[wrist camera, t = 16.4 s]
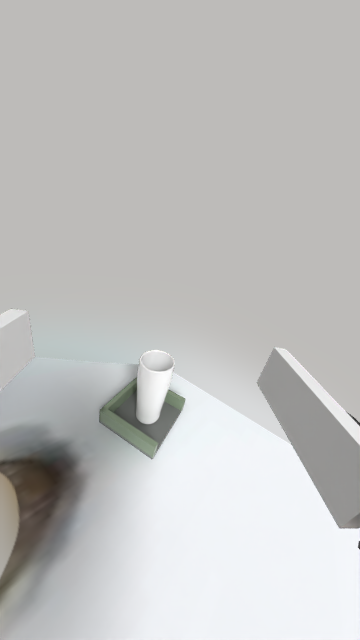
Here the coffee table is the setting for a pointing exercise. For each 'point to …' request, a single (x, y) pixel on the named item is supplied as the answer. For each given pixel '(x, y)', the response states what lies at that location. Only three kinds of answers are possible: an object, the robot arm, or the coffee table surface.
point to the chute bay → (126, 425)
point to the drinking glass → (153, 384)
